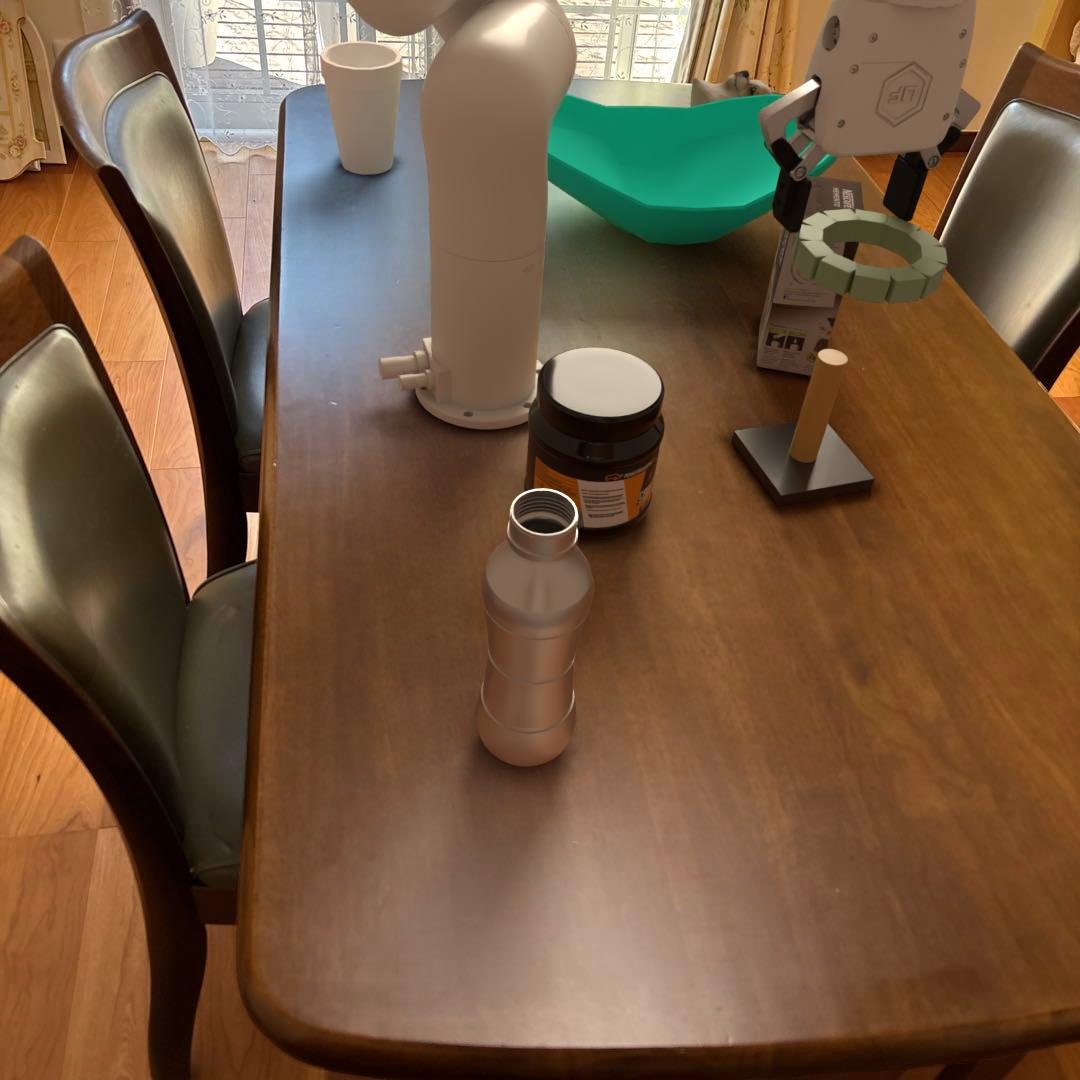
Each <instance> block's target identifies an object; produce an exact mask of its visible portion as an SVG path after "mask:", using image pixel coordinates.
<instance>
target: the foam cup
mask: <svg viewBox="0 0 1080 1080" xmlns="http://www.w3.org/2000/svg"><path fill="white" fill-rule="evenodd" d="M319 60H320V73H321V77H322V78H323V81H324V86H325V90H326V96H327V99H328V101H327V102H328V105H329V110H330V115H331V120H332V124H333V129H334V134H335V139H336V144H337V149H338V153H339V158H340V163H341V165H342V167H343V169H345V170H346V171H348V172H350V173H352V174H358V175H363V176H364V175H365V176H366V175H378V174H382V173H385V172H387V171H389V170H390V169H392V167H393V165H394V162H393V161H394V156H395V145H396V136H397V135H396V134H397V126H398V125H397V124H398V115H399V114H398V112H399V102H400V93H401V82H402V80H403V77H404V68H403V65H404V63H403V54H402V53H401V52H400V51H399V50H398V49H397V48H395V47H393V46H391V45H387V44H385V43H381V42H374V41H364V40H362V41H360V40H358V41H357V40H354V41H353V40H352V41H351V40H350V41H344V42H337V43H334V44H331V45H328V46H326V47H324V48H323V49H322V50H321V52H320V54H319Z"/></svg>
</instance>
